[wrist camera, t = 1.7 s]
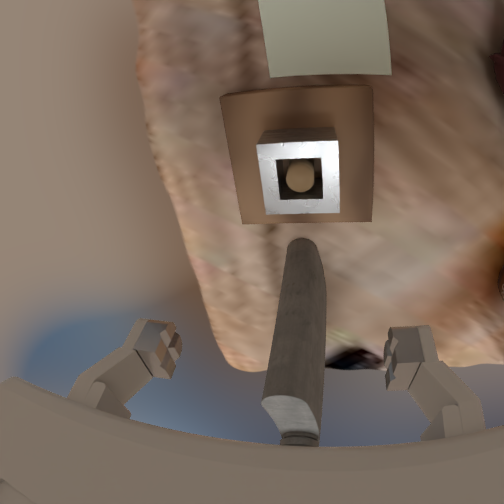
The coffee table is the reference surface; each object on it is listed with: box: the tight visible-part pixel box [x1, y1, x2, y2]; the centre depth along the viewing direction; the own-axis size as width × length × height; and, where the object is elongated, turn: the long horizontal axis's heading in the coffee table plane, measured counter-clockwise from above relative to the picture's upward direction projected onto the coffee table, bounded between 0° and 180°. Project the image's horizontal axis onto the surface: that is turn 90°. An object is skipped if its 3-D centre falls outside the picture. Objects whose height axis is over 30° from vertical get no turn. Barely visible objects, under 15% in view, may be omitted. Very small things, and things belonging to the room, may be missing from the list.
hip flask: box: [261, 239, 326, 447], centre depth 29 cm, size 16×4×20 cm, turn 11°
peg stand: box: [220, 85, 374, 224], centre depth 24 cm, size 12×12×6 cm
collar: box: [256, 127, 340, 215], centre depth 24 cm, size 6×6×4 cm
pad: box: [258, 0, 392, 78], centre depth 19 cm, size 10×10×1 cm
